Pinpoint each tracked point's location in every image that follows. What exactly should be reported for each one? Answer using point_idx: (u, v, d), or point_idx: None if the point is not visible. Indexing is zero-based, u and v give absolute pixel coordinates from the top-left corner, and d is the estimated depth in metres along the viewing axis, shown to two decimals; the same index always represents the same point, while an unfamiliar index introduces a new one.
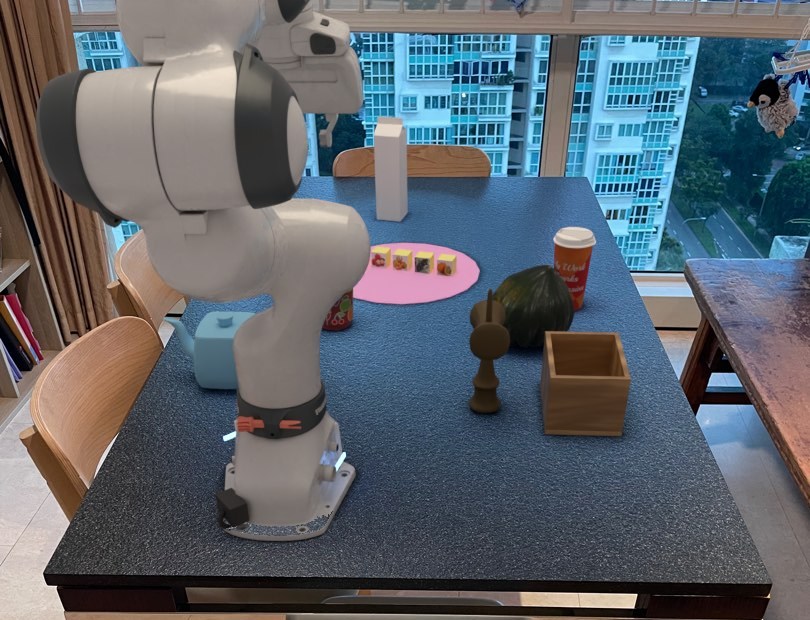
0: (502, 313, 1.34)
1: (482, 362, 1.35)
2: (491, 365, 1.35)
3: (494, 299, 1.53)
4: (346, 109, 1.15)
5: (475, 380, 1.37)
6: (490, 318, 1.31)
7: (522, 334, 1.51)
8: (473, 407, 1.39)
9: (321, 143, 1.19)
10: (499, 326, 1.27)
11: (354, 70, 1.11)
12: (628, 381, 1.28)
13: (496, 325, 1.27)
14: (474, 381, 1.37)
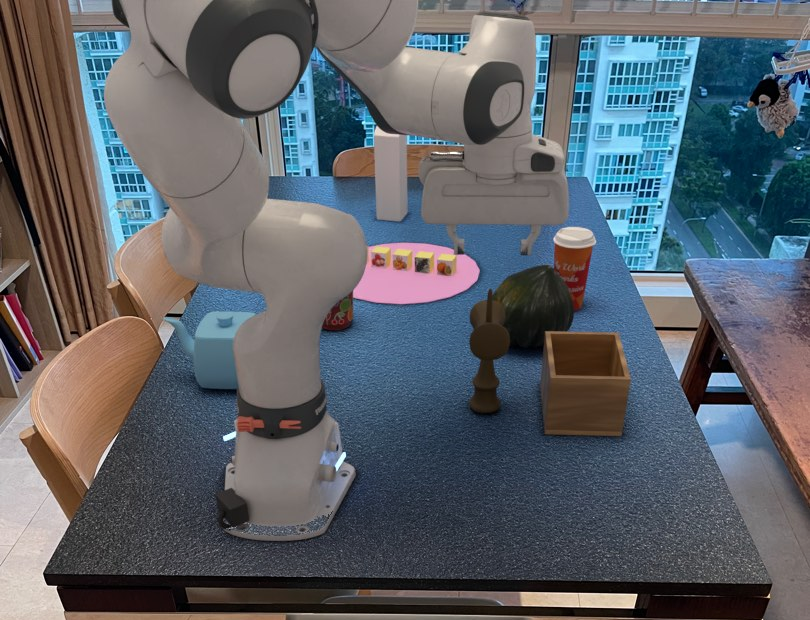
0: (502, 313, 1.34)
1: (482, 362, 1.35)
2: (491, 365, 1.35)
3: (494, 299, 1.53)
4: (553, 221, 1.20)
5: (475, 380, 1.37)
6: (490, 318, 1.31)
7: (522, 334, 1.51)
8: (473, 407, 1.39)
9: (523, 252, 1.24)
10: (499, 326, 1.27)
11: (567, 186, 1.16)
12: (628, 381, 1.28)
13: (496, 325, 1.27)
14: (474, 381, 1.37)
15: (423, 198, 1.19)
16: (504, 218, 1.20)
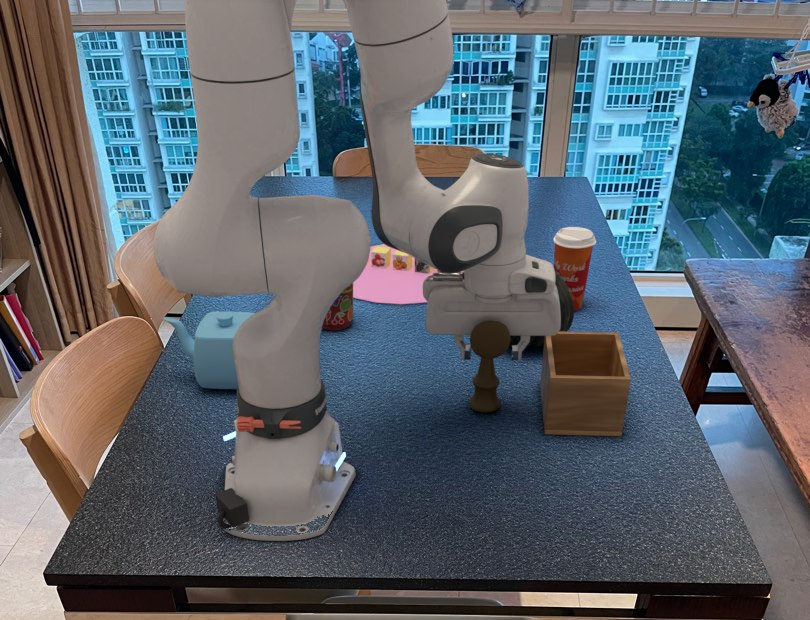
0: None
1: (482, 361, 1.35)
2: (491, 364, 1.35)
3: None
4: (547, 332, 1.30)
5: (475, 379, 1.37)
6: None
7: None
8: (473, 407, 1.39)
9: (513, 357, 1.34)
10: (500, 324, 1.27)
11: (559, 303, 1.27)
12: (628, 381, 1.28)
13: (497, 323, 1.27)
14: (474, 380, 1.37)
15: (427, 313, 1.30)
16: None
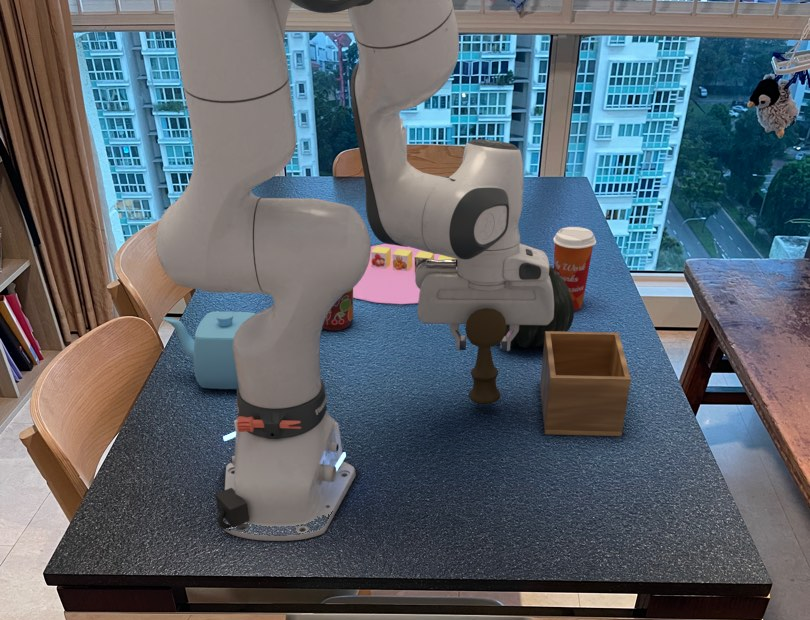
0: None
1: (479, 352, 1.34)
2: (489, 354, 1.34)
3: None
4: (540, 322, 1.29)
5: (474, 371, 1.36)
6: None
7: (522, 334, 1.51)
8: (473, 399, 1.38)
9: (502, 348, 1.33)
10: (495, 311, 1.26)
11: (552, 291, 1.26)
12: (628, 381, 1.28)
13: (492, 310, 1.26)
14: (473, 372, 1.36)
15: (419, 301, 1.29)
16: None
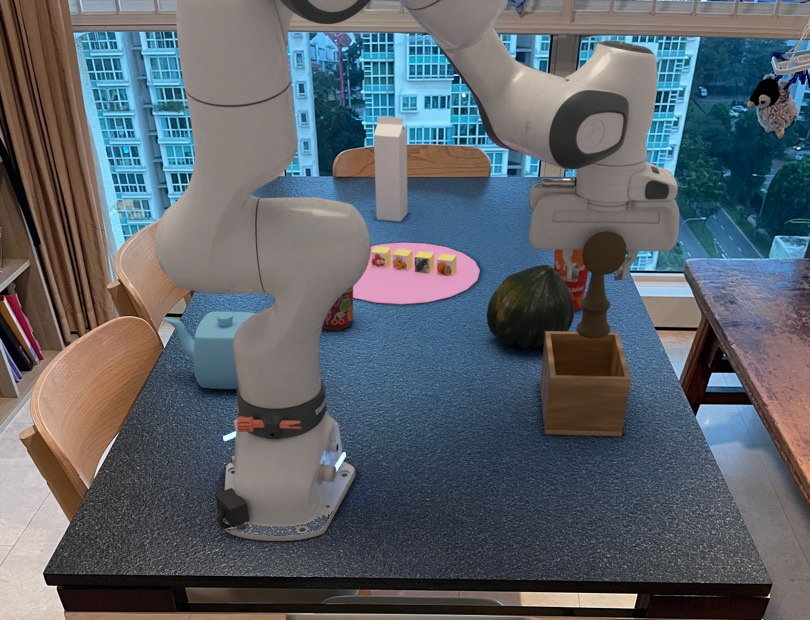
0: None
1: (592, 281, 1.26)
2: (602, 284, 1.26)
3: (494, 299, 1.53)
4: (661, 247, 1.21)
5: (584, 302, 1.28)
6: None
7: (522, 334, 1.51)
8: (582, 332, 1.29)
9: (617, 276, 1.25)
10: (615, 234, 1.18)
11: (678, 213, 1.17)
12: (628, 381, 1.28)
13: (612, 233, 1.18)
14: (583, 303, 1.28)
15: (533, 224, 1.20)
16: None
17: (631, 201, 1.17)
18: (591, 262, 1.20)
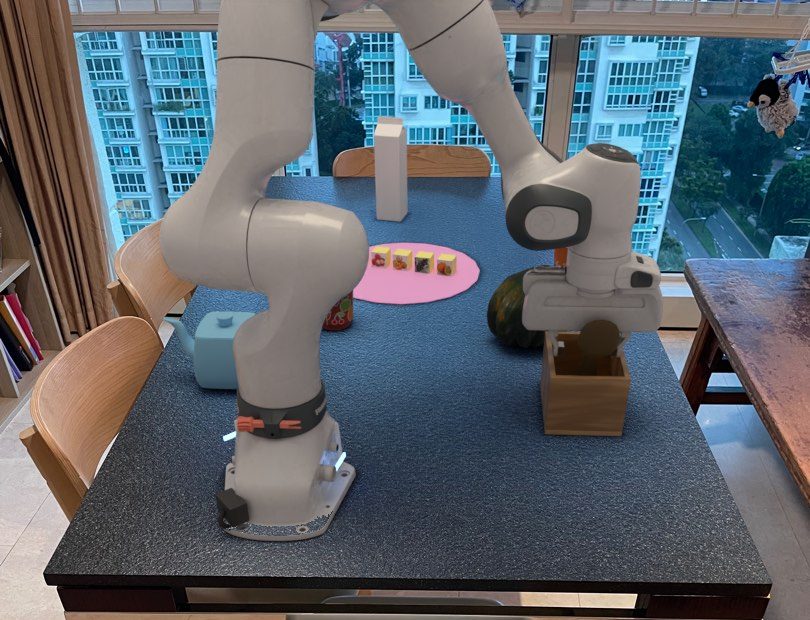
0: None
1: (585, 359, 1.33)
2: (594, 362, 1.34)
3: (494, 299, 1.53)
4: (646, 329, 1.29)
5: None
6: None
7: (522, 334, 1.51)
8: None
9: (612, 354, 1.32)
10: (611, 323, 1.26)
11: (662, 299, 1.25)
12: (628, 381, 1.28)
13: (608, 322, 1.25)
14: None
15: (526, 307, 1.28)
16: None
17: (618, 288, 1.25)
18: (586, 346, 1.28)
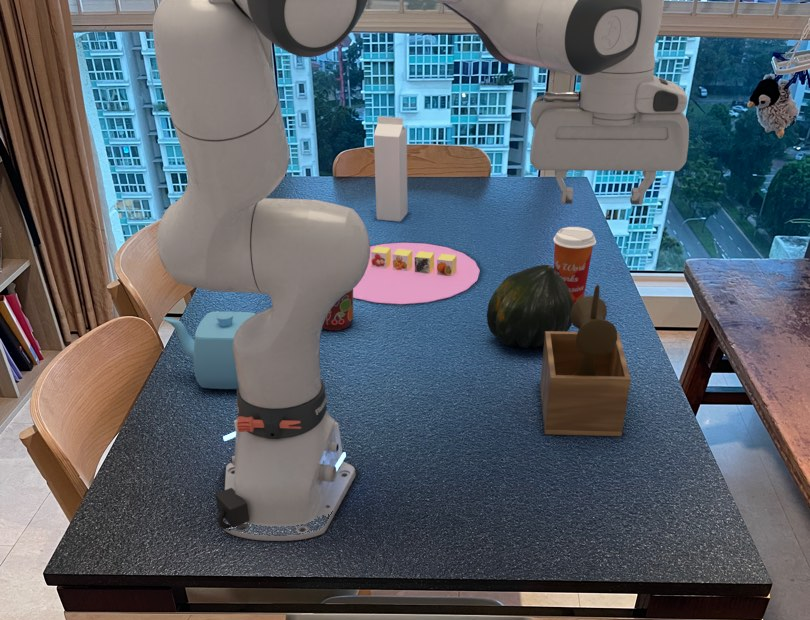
0: (604, 309, 1.32)
1: (584, 359, 1.34)
2: (593, 362, 1.34)
3: (494, 299, 1.53)
4: (670, 166, 1.15)
5: None
6: (595, 315, 1.29)
7: (522, 334, 1.51)
8: None
9: (634, 200, 1.19)
10: (608, 323, 1.26)
11: (688, 128, 1.11)
12: (628, 381, 1.28)
13: (605, 322, 1.26)
14: None
15: (535, 141, 1.14)
16: (619, 163, 1.15)
17: (638, 115, 1.11)
18: (584, 346, 1.28)
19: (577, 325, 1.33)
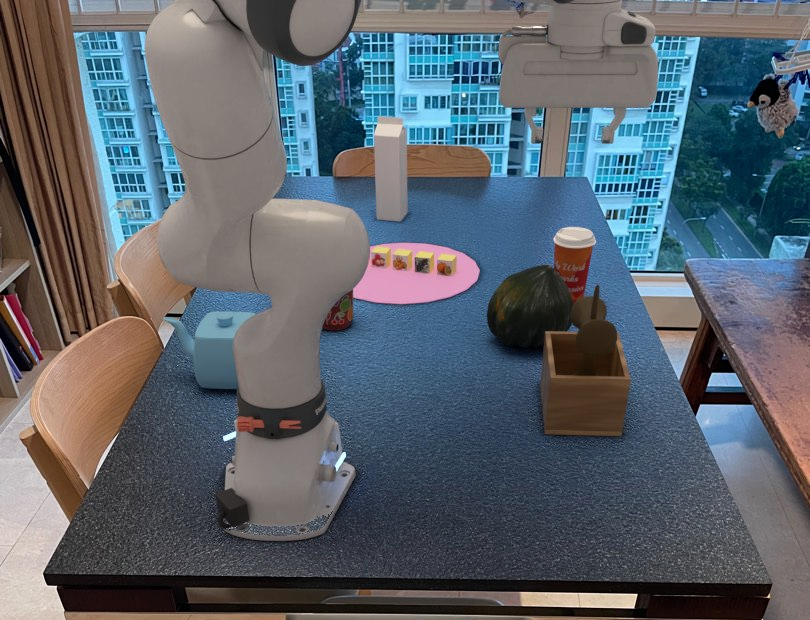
0: (604, 309, 1.32)
1: (584, 359, 1.34)
2: (593, 362, 1.34)
3: (494, 299, 1.53)
4: (640, 103, 1.13)
5: None
6: (595, 315, 1.29)
7: (522, 334, 1.51)
8: None
9: (605, 139, 1.17)
10: (608, 323, 1.26)
11: (657, 62, 1.10)
12: (628, 381, 1.28)
13: (605, 322, 1.26)
14: None
15: (503, 78, 1.13)
16: (588, 99, 1.13)
17: (606, 48, 1.09)
18: (584, 346, 1.28)
19: (577, 325, 1.33)
